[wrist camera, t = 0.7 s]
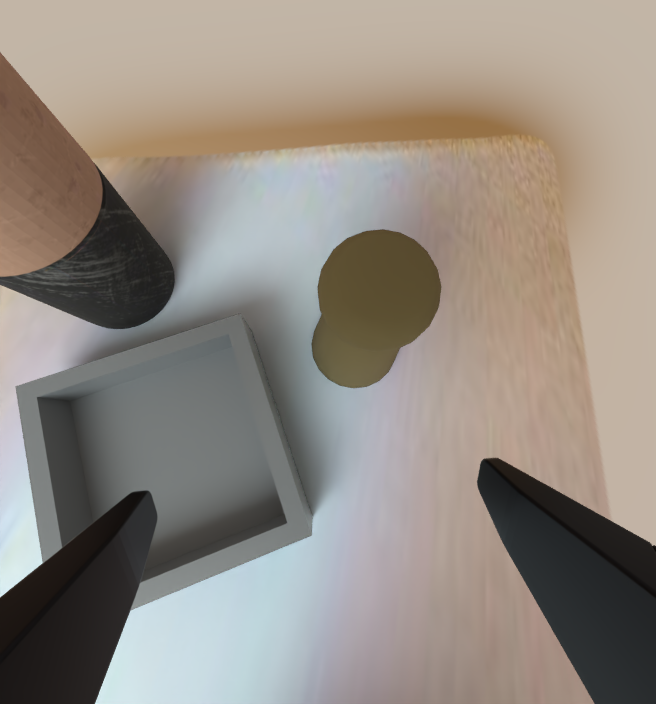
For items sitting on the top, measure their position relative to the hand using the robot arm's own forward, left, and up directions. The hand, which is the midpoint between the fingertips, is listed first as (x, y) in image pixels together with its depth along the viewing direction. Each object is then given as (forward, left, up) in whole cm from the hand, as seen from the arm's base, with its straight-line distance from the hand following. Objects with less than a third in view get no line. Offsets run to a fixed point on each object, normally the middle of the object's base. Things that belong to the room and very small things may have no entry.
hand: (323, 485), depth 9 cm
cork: (+6, -5, -13) cm, 15 cm away
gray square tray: (+3, +8, -13) cm, 15 cm away
